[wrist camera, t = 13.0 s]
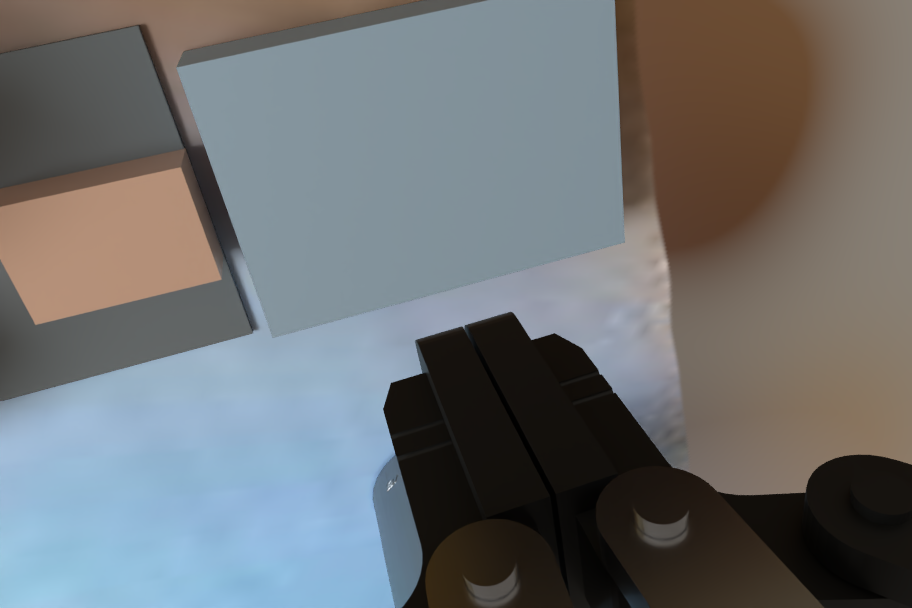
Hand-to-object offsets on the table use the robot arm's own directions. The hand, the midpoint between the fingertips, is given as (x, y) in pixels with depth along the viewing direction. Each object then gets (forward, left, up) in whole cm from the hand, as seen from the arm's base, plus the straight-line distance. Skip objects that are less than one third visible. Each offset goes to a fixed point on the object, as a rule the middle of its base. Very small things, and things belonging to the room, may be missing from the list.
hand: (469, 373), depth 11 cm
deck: (-7, -2, -29) cm, 29 cm away
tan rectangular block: (-1, +13, -28) cm, 31 cm away
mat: (0, +16, -29) cm, 33 cm away
